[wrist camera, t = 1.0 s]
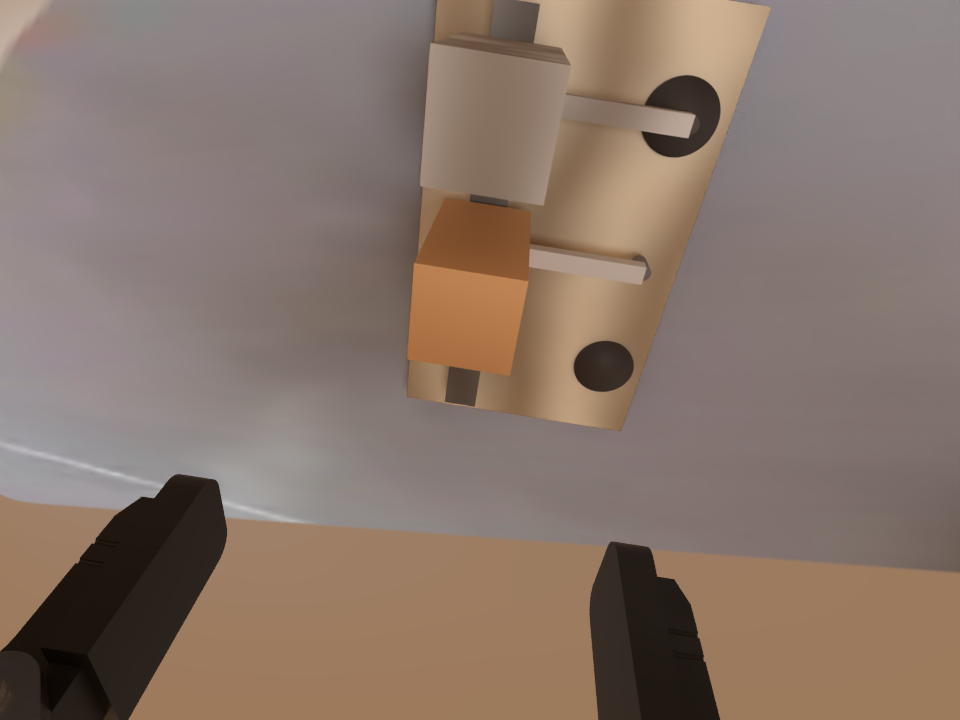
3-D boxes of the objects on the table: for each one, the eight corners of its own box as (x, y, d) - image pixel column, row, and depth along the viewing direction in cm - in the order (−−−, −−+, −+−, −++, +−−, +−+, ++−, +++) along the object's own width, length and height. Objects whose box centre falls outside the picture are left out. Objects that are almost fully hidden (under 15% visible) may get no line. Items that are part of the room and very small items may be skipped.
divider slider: (658, 225, 24) (705, 309, 17) (634, 299, 26) (668, 401, 19) (448, 191, 24) (413, 263, 17) (440, 268, 26) (407, 359, 19)
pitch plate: (759, 7, 21) (901, 8, 13) (618, 417, 32) (645, 559, 24) (445, -43, 21) (387, -74, 13) (410, 384, 32) (367, 514, 24)
